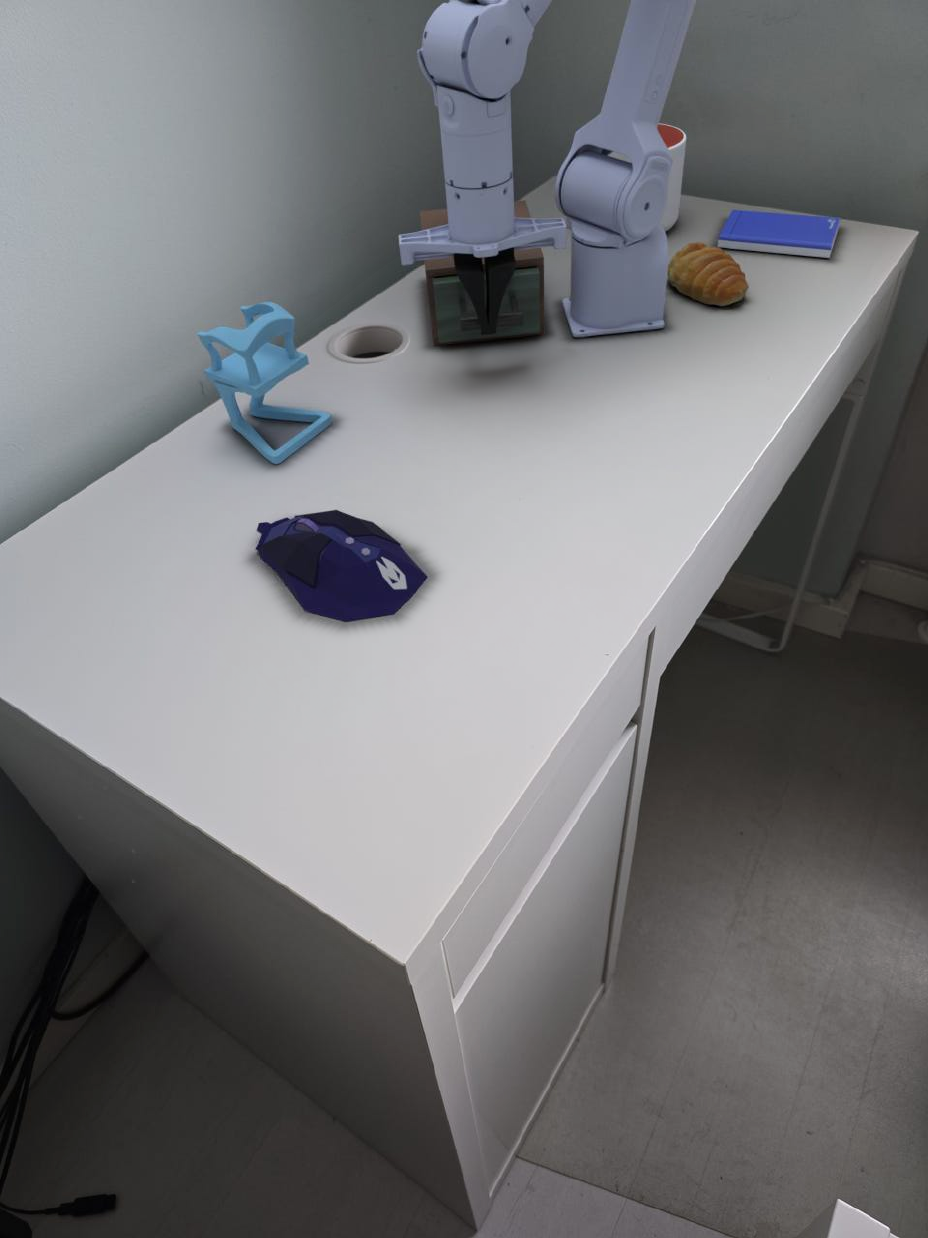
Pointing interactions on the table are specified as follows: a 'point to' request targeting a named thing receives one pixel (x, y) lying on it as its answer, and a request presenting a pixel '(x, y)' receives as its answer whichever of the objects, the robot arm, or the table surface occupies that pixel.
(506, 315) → the drawer
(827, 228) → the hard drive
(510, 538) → the table surface
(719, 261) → the pastry
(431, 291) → the cabinet
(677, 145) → the cup
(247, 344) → the chair
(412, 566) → the computer mouse
